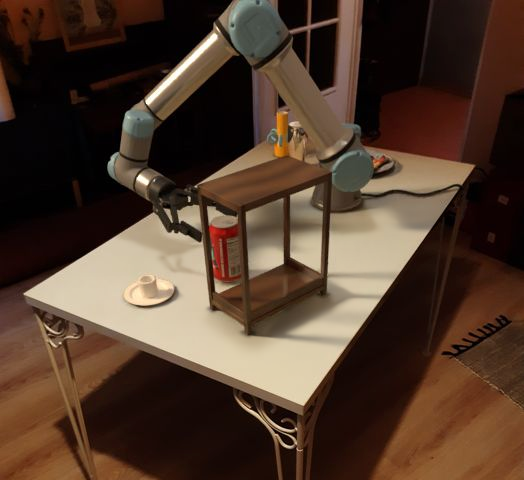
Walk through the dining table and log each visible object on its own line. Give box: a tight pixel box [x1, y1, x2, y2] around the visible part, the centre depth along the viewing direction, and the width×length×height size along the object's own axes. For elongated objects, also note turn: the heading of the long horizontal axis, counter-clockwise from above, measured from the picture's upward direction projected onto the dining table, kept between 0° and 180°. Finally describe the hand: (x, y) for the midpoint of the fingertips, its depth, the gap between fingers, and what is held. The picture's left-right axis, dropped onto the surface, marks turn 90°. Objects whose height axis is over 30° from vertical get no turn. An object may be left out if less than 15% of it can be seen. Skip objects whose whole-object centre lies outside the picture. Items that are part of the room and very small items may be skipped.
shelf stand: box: [196, 155, 332, 336], centre depth 123 cm, size 14×24×30 cm, turn 130°
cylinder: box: [266, 110, 290, 158], centre depth 204 cm, size 12×10×15 cm
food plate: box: [365, 148, 396, 175], centre depth 197 cm, size 25×23×4 cm
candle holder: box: [123, 274, 175, 306], centre depth 135 cm, size 12×12×4 cm
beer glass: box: [287, 120, 309, 162], centre depth 194 cm, size 7×7×15 cm
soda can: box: [209, 214, 241, 283], centre depth 137 cm, size 8×8×15 cm
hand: (219, 226), depth 141 cm, fingers open, 13 cm apart
